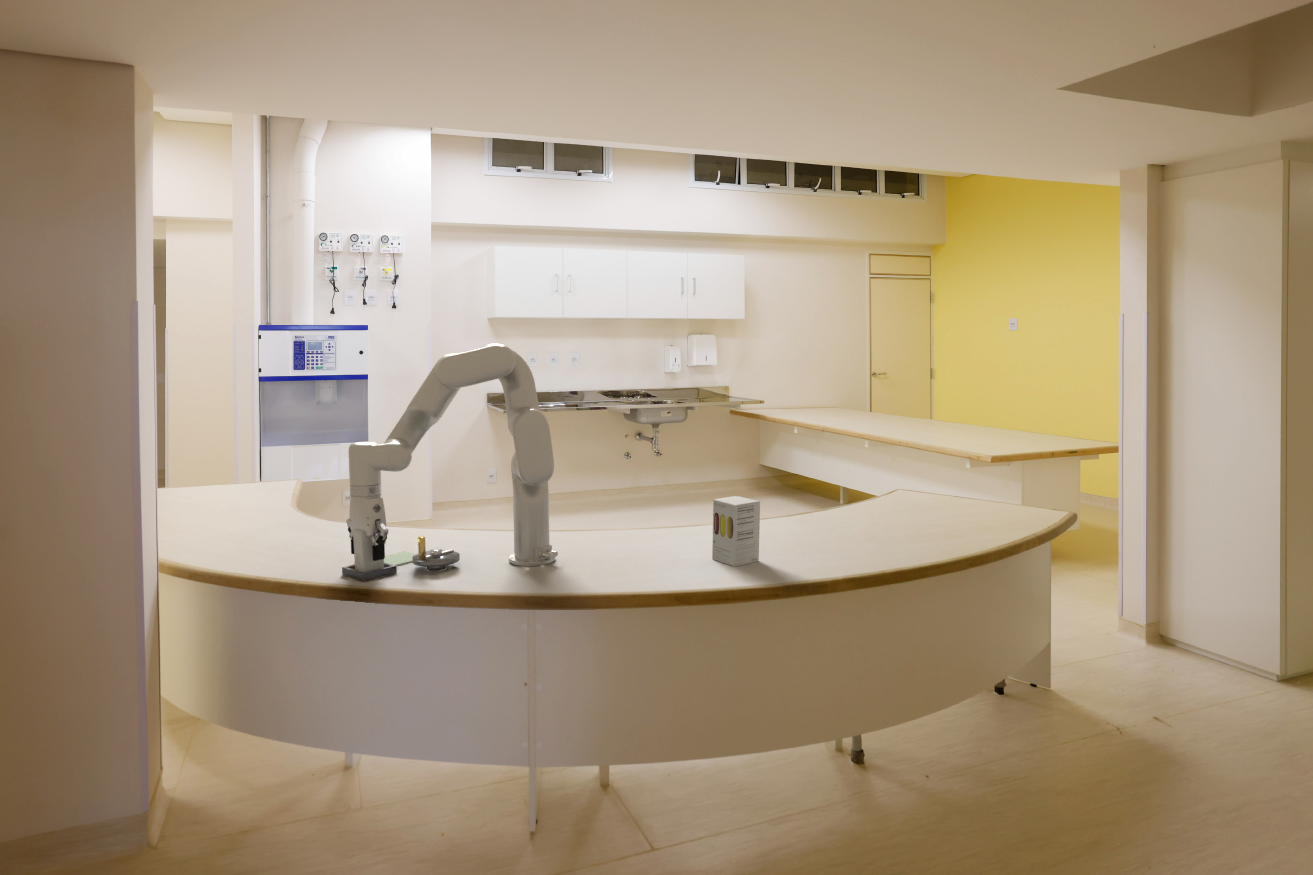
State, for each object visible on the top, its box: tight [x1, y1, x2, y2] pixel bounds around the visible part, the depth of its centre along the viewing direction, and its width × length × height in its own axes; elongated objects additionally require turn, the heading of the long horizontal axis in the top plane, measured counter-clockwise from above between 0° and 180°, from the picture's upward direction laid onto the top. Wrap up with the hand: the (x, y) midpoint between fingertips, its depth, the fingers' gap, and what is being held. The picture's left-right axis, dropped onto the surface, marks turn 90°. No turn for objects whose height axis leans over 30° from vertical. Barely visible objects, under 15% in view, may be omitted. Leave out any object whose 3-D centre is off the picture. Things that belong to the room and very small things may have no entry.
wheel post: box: [426, 565, 447, 572], centre depth 217 cm, size 5×5×2 cm
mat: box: [384, 550, 417, 566], centre depth 226 cm, size 10×10×1 cm
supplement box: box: [711, 495, 761, 567], centre depth 224 cm, size 10×9×17 cm
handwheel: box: [411, 536, 461, 568], centre depth 216 cm, size 12×12×7 cm
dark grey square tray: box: [341, 562, 398, 583], centre depth 212 cm, size 10×10×2 cm
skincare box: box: [353, 529, 384, 573], centre depth 211 cm, size 6×4×12 cm
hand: (367, 556), depth 211 cm, fingers open, 9 cm apart
